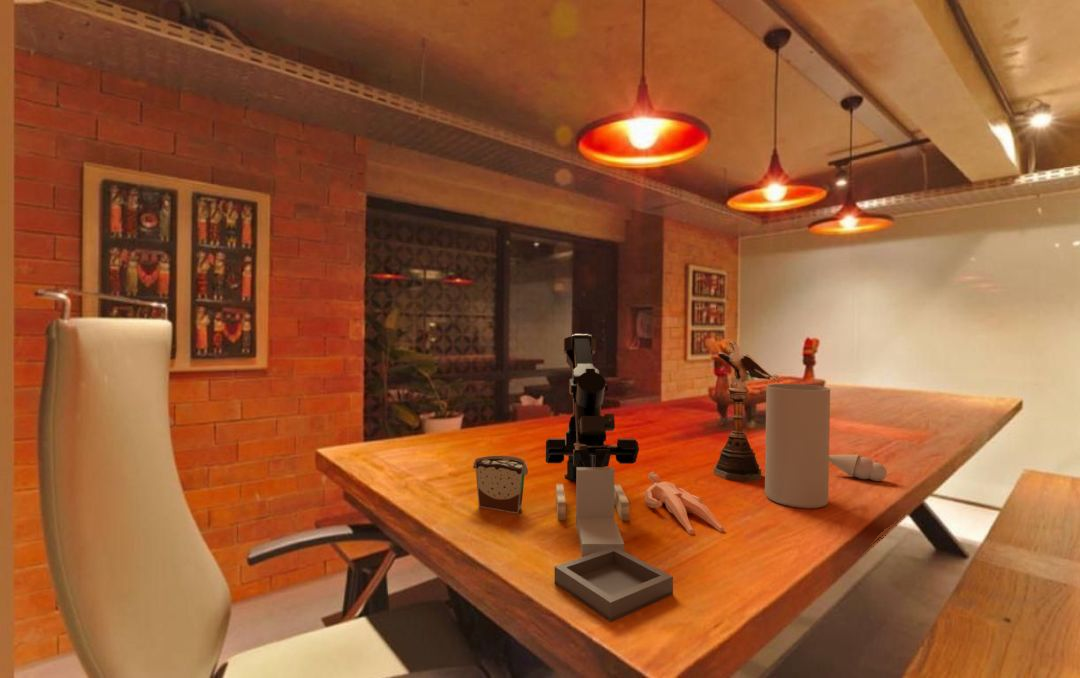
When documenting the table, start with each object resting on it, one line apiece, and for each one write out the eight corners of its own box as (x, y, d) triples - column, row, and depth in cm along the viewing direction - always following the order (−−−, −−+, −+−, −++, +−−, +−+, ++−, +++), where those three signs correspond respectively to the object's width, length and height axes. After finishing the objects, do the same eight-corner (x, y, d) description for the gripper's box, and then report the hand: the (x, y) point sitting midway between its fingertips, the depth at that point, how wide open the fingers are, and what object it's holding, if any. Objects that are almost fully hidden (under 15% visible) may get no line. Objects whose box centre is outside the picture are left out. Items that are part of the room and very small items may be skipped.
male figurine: (681, 519, 92) (629, 470, 116) (679, 545, 92) (628, 491, 117) (734, 515, 94) (672, 467, 118) (732, 540, 95) (671, 488, 119)
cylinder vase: (834, 499, 112) (836, 387, 112) (819, 514, 103) (821, 392, 103) (775, 487, 121) (777, 382, 120) (756, 499, 112) (757, 387, 111)
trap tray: (614, 561, 82) (614, 546, 81) (672, 594, 72) (673, 576, 72) (554, 583, 75) (554, 566, 75) (610, 621, 65) (610, 602, 65)
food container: (537, 505, 108) (538, 458, 107) (524, 515, 102) (525, 465, 102) (487, 497, 113) (487, 452, 112) (472, 505, 107) (472, 458, 107)
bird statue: (749, 463, 142) (750, 339, 141) (786, 476, 129) (788, 340, 129) (700, 469, 136) (701, 339, 135) (734, 483, 124) (736, 340, 123)
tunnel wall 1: (555, 499, 111) (556, 483, 111) (562, 499, 111) (562, 483, 111) (557, 520, 99) (558, 502, 99) (565, 520, 99) (565, 502, 99)
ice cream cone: (816, 470, 135) (883, 491, 126) (815, 459, 131) (884, 480, 121) (823, 450, 137) (889, 469, 128) (822, 439, 133) (890, 458, 124)
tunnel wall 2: (612, 499, 111) (612, 484, 111) (619, 499, 111) (619, 484, 111) (621, 520, 99) (621, 502, 99) (629, 520, 99) (629, 502, 99)
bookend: (576, 523, 98) (576, 467, 97) (612, 524, 98) (612, 467, 97) (582, 555, 84) (582, 489, 84) (624, 556, 84) (624, 490, 84)
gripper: (546, 399, 103) (546, 468, 92) (637, 399, 103) (648, 468, 92) (545, 429, 111) (545, 496, 100) (630, 430, 111) (639, 496, 100)
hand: (594, 489), depth 98 cm, fingers closed
